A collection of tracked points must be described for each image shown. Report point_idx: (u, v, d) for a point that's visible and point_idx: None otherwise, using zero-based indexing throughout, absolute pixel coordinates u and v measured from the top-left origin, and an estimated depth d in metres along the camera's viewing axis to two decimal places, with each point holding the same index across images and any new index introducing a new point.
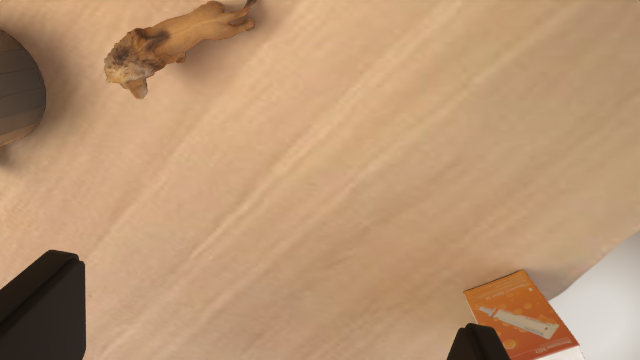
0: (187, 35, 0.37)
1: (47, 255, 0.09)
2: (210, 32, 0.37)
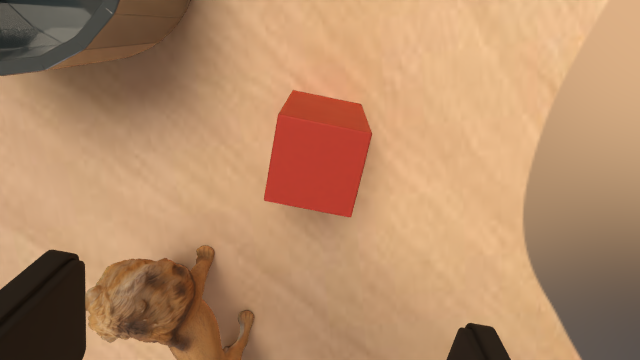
0: None
1: (47, 255, 0.09)
2: None
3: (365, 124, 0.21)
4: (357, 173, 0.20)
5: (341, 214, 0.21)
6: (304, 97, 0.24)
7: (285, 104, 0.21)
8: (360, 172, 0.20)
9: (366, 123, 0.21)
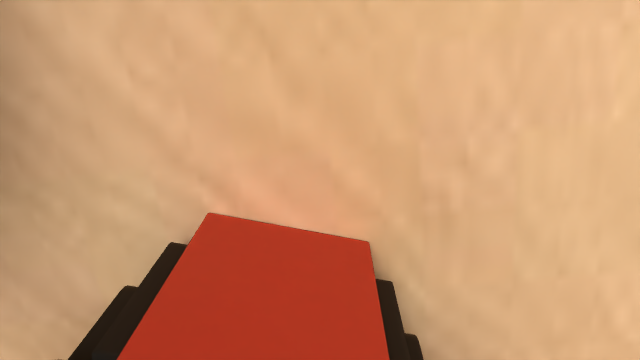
0: None
1: (171, 247, 0.10)
2: None
3: None
4: None
5: None
6: (224, 252, 0.09)
7: (125, 351, 0.06)
8: None
9: None
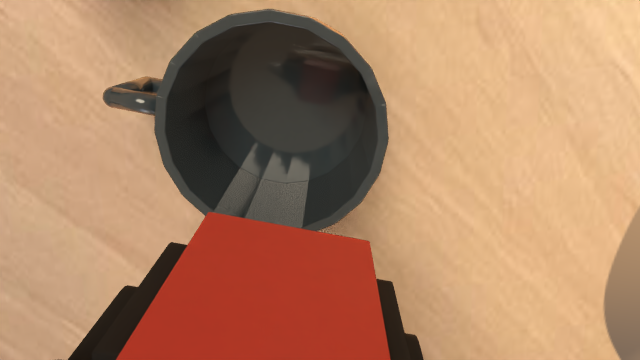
0: None
1: (171, 247, 0.10)
2: None
3: None
4: None
5: None
6: (224, 251, 0.09)
7: (125, 350, 0.06)
8: None
9: None
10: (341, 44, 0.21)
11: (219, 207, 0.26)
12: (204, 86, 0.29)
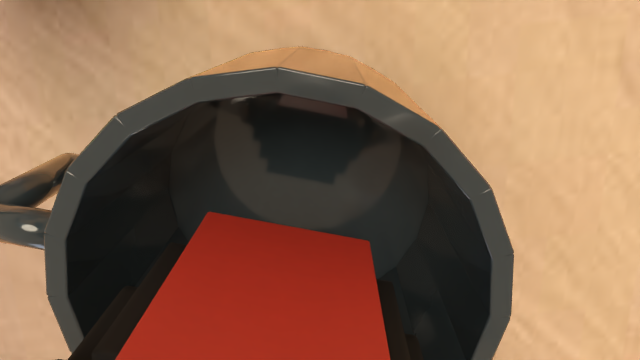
0: None
1: (171, 247, 0.10)
2: None
3: None
4: None
5: None
6: (224, 251, 0.09)
7: (124, 349, 0.06)
8: None
9: None
10: (431, 140, 0.10)
11: None
12: (165, 165, 0.18)
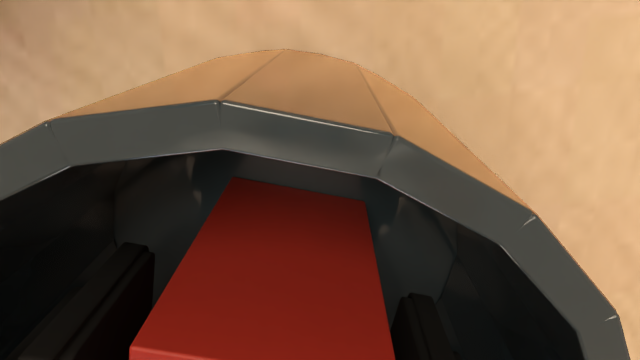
0: None
1: (124, 246, 0.10)
2: None
3: (379, 322, 0.08)
4: None
5: None
6: (248, 204, 0.12)
7: (184, 259, 0.09)
8: None
9: (381, 312, 0.08)
10: (516, 236, 0.05)
11: None
12: (105, 209, 0.13)
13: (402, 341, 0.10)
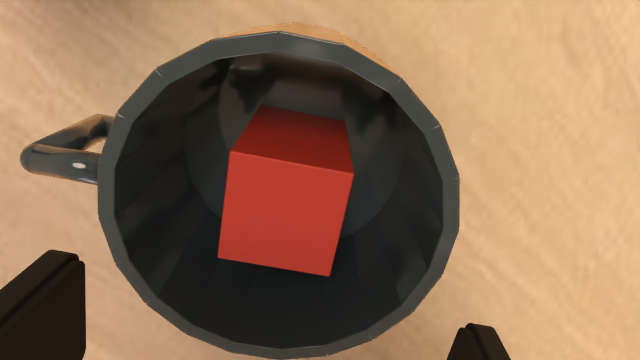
0: None
1: (47, 255, 0.09)
2: None
3: (346, 157, 0.16)
4: (336, 223, 0.15)
5: (317, 273, 0.16)
6: (273, 116, 0.20)
7: (244, 131, 0.17)
8: (340, 222, 0.15)
9: (348, 155, 0.16)
10: (394, 87, 0.13)
11: (201, 313, 0.17)
12: (181, 125, 0.21)
13: None
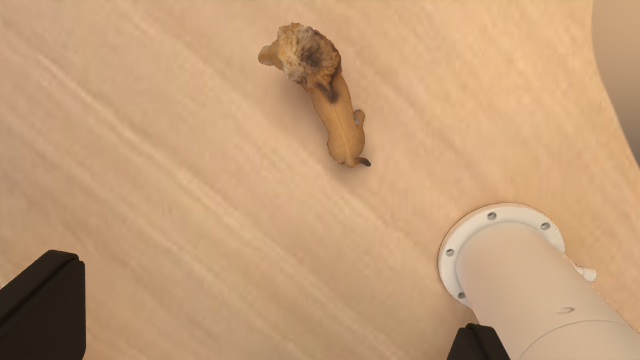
0: (332, 123, 0.33)
1: (47, 255, 0.09)
2: (336, 150, 0.33)
3: None
4: None
5: None
6: None
7: None
8: None
9: None
10: None
11: None
12: None
13: None
